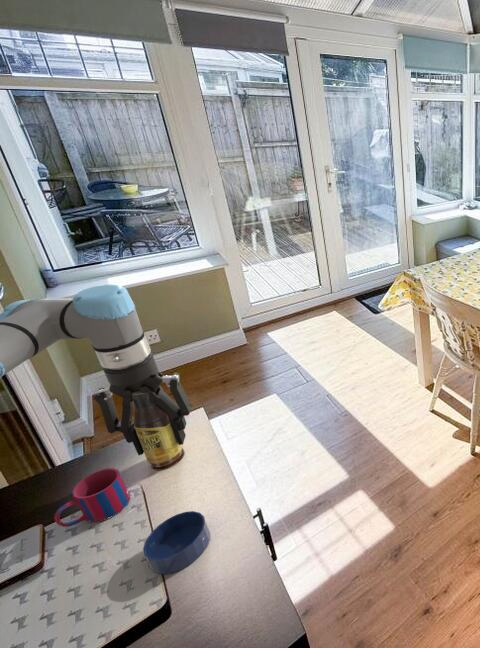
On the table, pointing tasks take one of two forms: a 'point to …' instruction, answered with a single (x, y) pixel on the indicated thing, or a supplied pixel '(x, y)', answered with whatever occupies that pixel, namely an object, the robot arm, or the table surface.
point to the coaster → (170, 464)
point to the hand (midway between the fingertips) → (162, 444)
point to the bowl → (177, 542)
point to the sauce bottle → (155, 431)
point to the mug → (97, 497)
